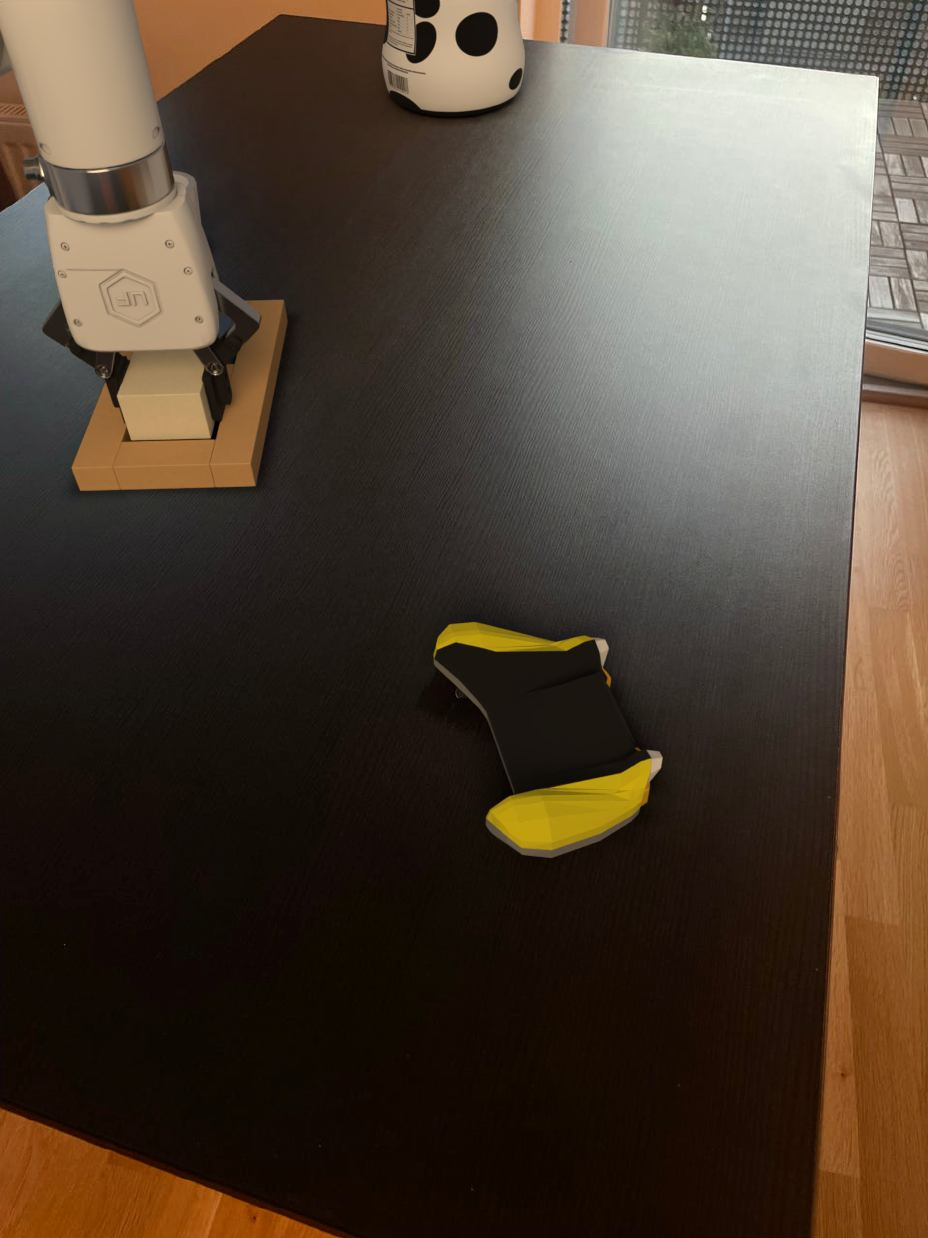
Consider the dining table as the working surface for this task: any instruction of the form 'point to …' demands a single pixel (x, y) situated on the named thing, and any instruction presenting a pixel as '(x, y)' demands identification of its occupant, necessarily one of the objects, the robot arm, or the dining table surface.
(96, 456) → the frame
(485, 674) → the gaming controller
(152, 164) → the robot arm
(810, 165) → the dining table surface
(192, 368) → the cream block
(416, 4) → the milk container
